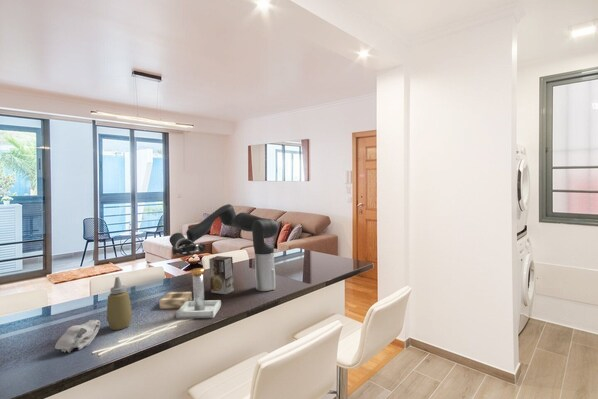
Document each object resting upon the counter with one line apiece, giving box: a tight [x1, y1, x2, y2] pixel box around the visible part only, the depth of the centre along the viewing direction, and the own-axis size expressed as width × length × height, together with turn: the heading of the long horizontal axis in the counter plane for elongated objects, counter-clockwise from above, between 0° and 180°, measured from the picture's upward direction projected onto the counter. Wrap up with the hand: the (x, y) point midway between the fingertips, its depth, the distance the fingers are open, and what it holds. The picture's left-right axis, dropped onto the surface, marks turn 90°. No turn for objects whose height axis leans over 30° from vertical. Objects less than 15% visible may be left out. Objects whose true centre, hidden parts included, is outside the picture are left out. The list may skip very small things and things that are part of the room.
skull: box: [54, 319, 101, 354], centre depth 105 cm, size 8×9×12 cm
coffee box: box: [208, 255, 235, 295], centre depth 155 cm, size 9×6×16 cm
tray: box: [175, 299, 222, 320], centre depth 130 cm, size 14×12×2 cm
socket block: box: [158, 291, 193, 309], centre depth 140 cm, size 10×10×4 cm
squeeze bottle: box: [106, 276, 133, 331], centre depth 118 cm, size 8×8×18 cm
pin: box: [190, 267, 205, 311], centre depth 130 cm, size 5×5×16 cm
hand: (192, 250), depth 144 cm, fingers open, 8 cm apart
